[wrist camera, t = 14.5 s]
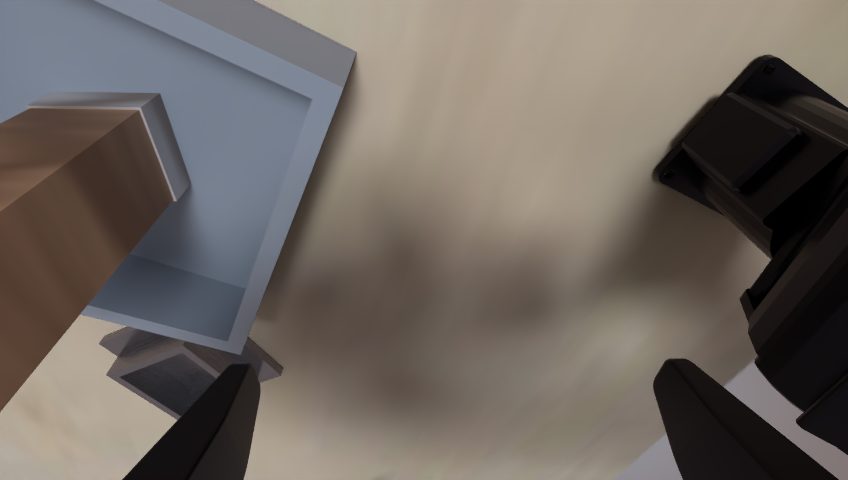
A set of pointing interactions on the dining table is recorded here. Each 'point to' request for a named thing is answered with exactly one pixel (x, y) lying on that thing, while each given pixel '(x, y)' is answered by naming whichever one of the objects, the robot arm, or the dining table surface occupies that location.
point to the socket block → (175, 367)
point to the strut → (74, 210)
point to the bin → (192, 140)
